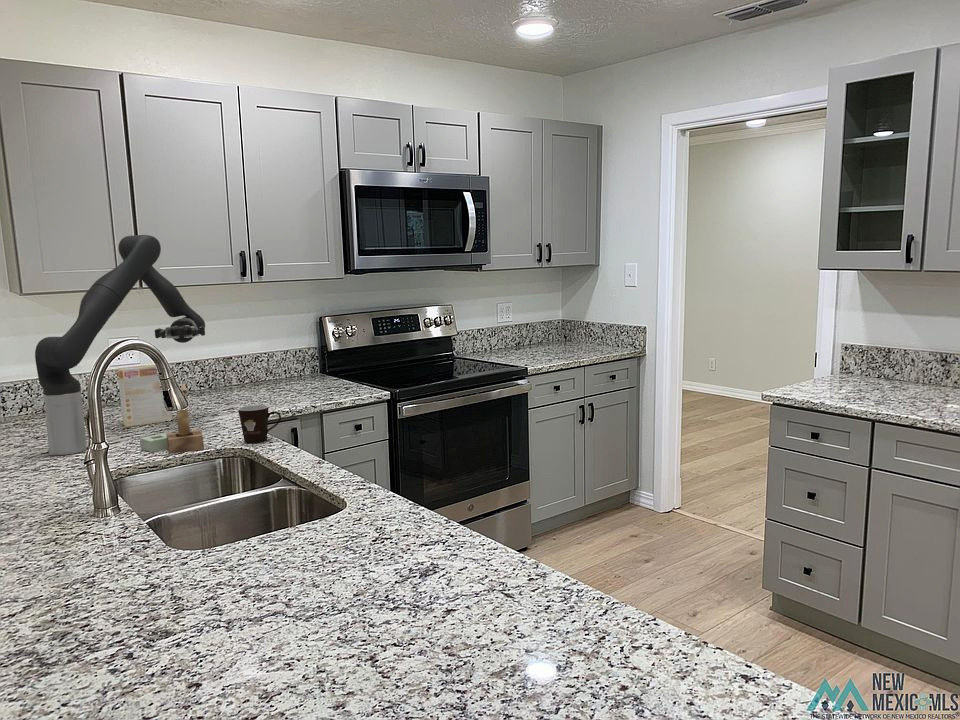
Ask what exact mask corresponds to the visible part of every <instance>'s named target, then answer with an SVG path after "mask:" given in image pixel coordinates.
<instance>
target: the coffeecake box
mask: <svg viewBox="0 0 960 720" xmlns="http://www.w3.org/2000/svg"><path fill="white" fill-rule="evenodd" d="M155 365H156V364H148V365H136V366H128V367H117V377H118V388H119V395H120V396H119V398H120V399H119V400H120V408H121V416H122V423H123V426H124V427H125V428H128V427H137V426H143V425H144V426H146V425H151V424H152V423H153V424H160V423H166V422H165V421H168V422H172V421H171V420H173V419H174V418H173V410H172V411H167V410H166V408H165V405H164V401H163V397H162V391H161V388H160V384H159V379H158V376H157V369H156V366H155ZM153 424H152V425H153Z"/></svg>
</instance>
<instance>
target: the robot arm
mask: <svg viewBox="0 0 960 720" xmlns="http://www.w3.org/2000/svg"><path fill="white" fill-rule="evenodd" d="M161 252H162V248H161V243H160V241H159V240H158V239H157V238H156V237H155V236H153V235H149V234H138V235H136V234H135V235H127V236H124V237H122V239H120V241H119V243H118V253H119V256H120V257H121V258H122V260H123V261H122V262H121V263H119V265H117V266H115V268H113V269H111V270H109V271H107V272H106V273H105V274H104V275H102V276H100V278H98V279H97V280H95V281H94V283H93V284H92V285H91V286H90V287H89V289H88V290H87V291H86V292H85V293H84V295H83V297H82V298H81V300H80V304H79V308H78V316H77V318H76V321H75V322H74V323H73V325H72V326H71V327H70V328H69V329H68V330H67V332H65V333H64V334H63V335H62V336H48V337H47V336H46V337H44V338H42V339H40V341H38V343H37V344H36V347H35V351H34V352H35V353H34V359H35V366H36V371H37V372H36V373H37V377H38V378H37V379H38V382H39V384H40V387H41V388H42V392H43V398H44V406H45V407H44V408H45V417H46V422H45V424H46V432H47V433H46V435H47V443H48V451H49V456H65V455H73V454H77V453H82V452H85V451H87V450H88V446H87V445H88V443H87V442H88V441H87V437H86V427H85V426H86V425H85V418H84V408H83V405H84V404H83V397H82V396H83V395H82V389H81V382H80V381H79V380H78V379H76V378H75V377H74V376H73V375H72V373H71V372H70V370H71V369H73V368H75V367H77V366H78V365H79V364H80V363H81V362H82V360H83V359H84V357H85V356H86V353H87V352H88V351H89V349H90V347H91V345H92V343H93V342H94V340H95V339H96V337H97V335H98V334H99V333H100V332H101V330H102V329H103V327H104V326H105V324H106V323H107V322H108V321H109V319H110V318H111V316H113V314H114V313H115V312H116V311H117V309H118V308H119V307H120V305H121V304H122V302H123V301H124V299H126V297H127V295H129V293H130V292H131V290H132V289H133V287H134V286H135V285H136V284H137V283H138V282H139V280H141V281H142V283H144V284H145V286H147V288H148V289H149V290H150V292H151V293H153V295H154V296H155V297H156V300H157V302H158V303H159V304H160V305H161V306H162V308H163V309H164V311H165V312H166V314H167V316H169V317H170V318H177V319H176V320H174V321H172V323H171V324H170V326H168V327H165V329H164V328H161V327H159V328H156V329H154V338H155V339H160V338H162V339H173V340H174V341H176V342H177V343H181V344H183V343H188V342H191V341H192V340H193V338H195V337H198V336H202V337H203V336H206V322H205V320H204V318H202V316H201V315H200V314H198V313H197V311H195V310H193V308H191V306H190V305H188V303H187V302H186V300H185V298H184V297H183V295H182V294H181V293H180V291H179V290H178V288H177V287H176V286H175V285H174V284H173V283H172V282H171V281H170V280H168V279H167V278H165V276H164V275H162V274H161V273H160V272H159V271H158V270H157V269H156V268H155V267H154V264H155V263H156V262H157V261H158V259H159V258H160V255H161ZM179 317H181V318H179Z"/></svg>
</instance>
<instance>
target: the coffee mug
mask: <svg viewBox="0 0 960 720" xmlns="http://www.w3.org/2000/svg"><path fill="white" fill-rule="evenodd" d="M269 410H270V409H269V405H267V404H266V405H265V404H254V405H245V406H241V407H238V409H237V411H238V416H239V421H240V426H241V427H240V428H241V430H242V431H241V432H242V436H243V441H244V443H245V444H252V445H253V444H260V443H265V442H267V441H268V433H269V432H270V431H271V430H273V429H274V428H275V427H277V426H278V425H279V423H280V422H281V421H282V416H281V413H280V412H278V411H276V410H274V411H273V410H272V411H270V412H269ZM272 414H275V415H277V416H278V420H277V422H276V423H275V424H274V425H272V426H271V427H269V424H268V423H269V418H270V416H271V415H272Z"/></svg>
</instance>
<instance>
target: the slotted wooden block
mask: <svg viewBox="0 0 960 720" xmlns="http://www.w3.org/2000/svg"><path fill="white" fill-rule="evenodd" d="M165 434H166V435H167V442H168V449H167V450H168V453H169V455H170V454H178V453H179V454H180V453H185V452H193V451H200V450H201V451H202V450H204V449H205V446H204V444H205V443H204V435H203V433H202V431H201V430H200V429H193V430H190V436H182V437H179V433H178V431H177V432H170V433H165Z"/></svg>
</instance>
